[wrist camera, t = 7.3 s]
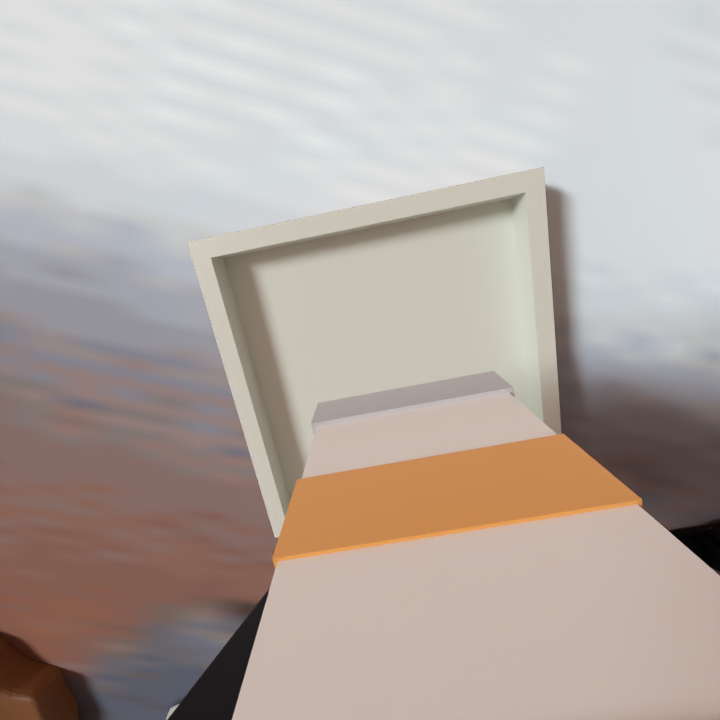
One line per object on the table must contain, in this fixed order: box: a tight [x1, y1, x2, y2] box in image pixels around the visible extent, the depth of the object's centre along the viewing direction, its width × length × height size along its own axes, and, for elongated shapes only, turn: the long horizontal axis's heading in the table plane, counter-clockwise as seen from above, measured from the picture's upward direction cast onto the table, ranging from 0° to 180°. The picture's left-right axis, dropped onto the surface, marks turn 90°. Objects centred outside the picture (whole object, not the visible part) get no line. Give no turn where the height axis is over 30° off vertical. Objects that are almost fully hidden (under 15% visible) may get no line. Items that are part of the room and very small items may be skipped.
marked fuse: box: [232, 371, 720, 720], centre depth 5 cm, size 4×4×8 cm
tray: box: [187, 167, 562, 537], centre depth 18 cm, size 15×15×2 cm
